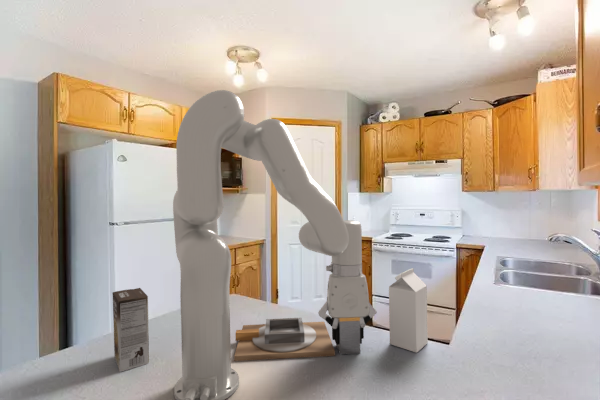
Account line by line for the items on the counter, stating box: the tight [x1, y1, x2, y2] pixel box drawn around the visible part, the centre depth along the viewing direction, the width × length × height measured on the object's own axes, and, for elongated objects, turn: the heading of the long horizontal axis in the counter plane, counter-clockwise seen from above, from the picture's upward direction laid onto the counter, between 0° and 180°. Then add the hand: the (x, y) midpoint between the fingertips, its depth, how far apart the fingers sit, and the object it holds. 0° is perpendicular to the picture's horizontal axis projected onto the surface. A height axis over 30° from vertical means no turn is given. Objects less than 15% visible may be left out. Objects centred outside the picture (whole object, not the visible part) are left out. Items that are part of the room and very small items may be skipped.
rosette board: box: [233, 317, 336, 362], centre depth 84 cm, size 18×25×4 cm
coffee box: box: [111, 287, 150, 373], centre depth 75 cm, size 9×6×16 cm
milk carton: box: [388, 267, 429, 353], centre depth 81 cm, size 7×7×19 cm
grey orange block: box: [336, 317, 361, 355], centre depth 79 cm, size 5×5×9 cm
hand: (347, 341), depth 79 cm, fingers closed on grey orange block, 5 cm apart
